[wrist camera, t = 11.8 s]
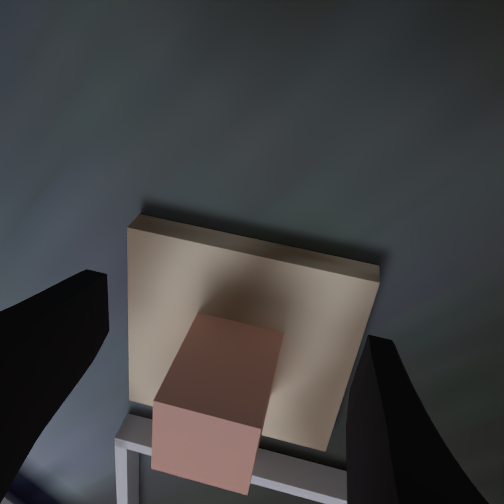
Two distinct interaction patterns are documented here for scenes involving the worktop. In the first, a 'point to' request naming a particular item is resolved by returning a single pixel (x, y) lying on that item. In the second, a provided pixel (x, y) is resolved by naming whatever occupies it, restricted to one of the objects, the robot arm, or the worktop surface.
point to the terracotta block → (215, 403)
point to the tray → (264, 473)
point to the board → (249, 314)
